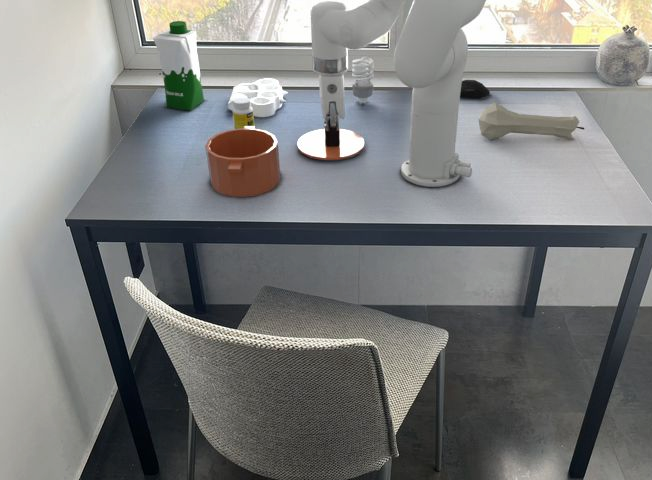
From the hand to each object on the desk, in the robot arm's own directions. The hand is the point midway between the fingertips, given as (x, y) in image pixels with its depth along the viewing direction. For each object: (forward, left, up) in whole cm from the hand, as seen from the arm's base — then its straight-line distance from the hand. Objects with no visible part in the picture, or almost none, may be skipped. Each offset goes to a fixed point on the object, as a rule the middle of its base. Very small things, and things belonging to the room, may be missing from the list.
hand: (332, 141), depth 156 cm
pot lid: (0, 0, -1) cm, 1 cm away
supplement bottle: (+22, +3, -2) cm, 22 cm away
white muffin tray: (+29, -14, -2) cm, 32 cm away
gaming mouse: (-16, -43, -2) cm, 46 cm away
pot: (+9, +22, -1) cm, 24 cm away
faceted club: (-40, -24, -2) cm, 46 cm away
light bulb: (+5, -26, -2) cm, 27 cm away
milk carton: (+46, -5, -2) cm, 46 cm away
